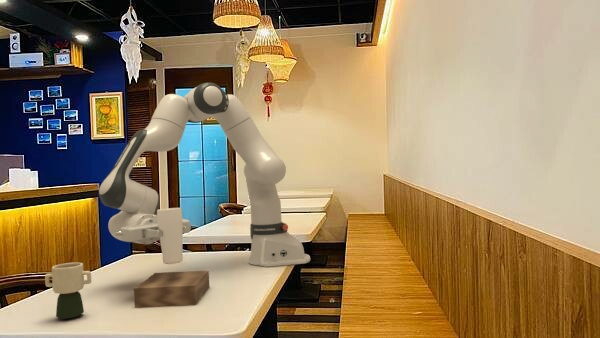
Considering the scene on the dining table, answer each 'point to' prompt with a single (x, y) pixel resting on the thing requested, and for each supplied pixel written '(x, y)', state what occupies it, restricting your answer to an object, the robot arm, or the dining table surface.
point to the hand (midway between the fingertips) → (172, 231)
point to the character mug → (68, 288)
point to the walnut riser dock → (172, 289)
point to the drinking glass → (171, 234)
